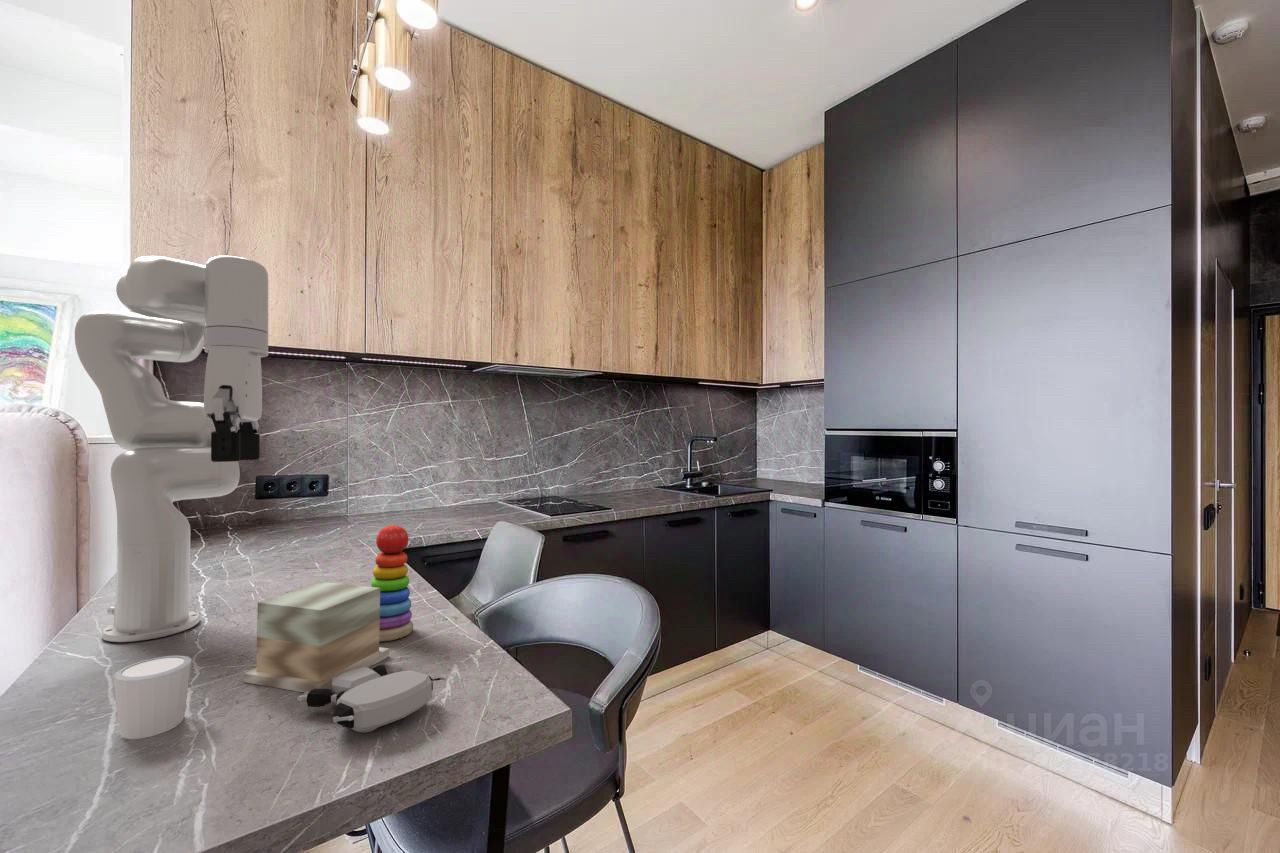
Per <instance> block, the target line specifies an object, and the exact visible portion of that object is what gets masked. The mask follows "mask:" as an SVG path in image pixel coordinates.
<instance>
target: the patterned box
mask: <svg viewBox="0 0 1280 853" xmlns="http://www.w3.org/2000/svg"><path fill="white" fill-rule="evenodd" d="M256 610H257V611H256V612H257V614H256V615H257V616H256V618H257V620H256V622H257V623H256V624H257V626H256V662H255V666H256V667H255V668H252V669H251V670H248V671H246V672H244V673H243V683H247V684H253V685H260V686H265V687H269V688H270V687H271V688H277V689H281V690H282V689H283V690H288V691H294V692H301V693H303V694H304V693H306V692H310V691H311V690H313V689H330V690H332V678H334V677H335V676H337V677H338V676H339V675H340V674H342V673H345V672H347V671H350V670H354V669H357V668H363V667H368V668H371V667H373V666H374V665H376V664H379V662H382V661H384V660H385V659H387V658H389V657H390V648H389V647H388V648H386V647H380V641H379V629H380V588H376V587H372V586H368V585H367V586H366V585H358V584H357V585H355V584H348V583H346V584H345V583H338V582H337V583H335V582H330V581H329V582H326V581H320V582H318V583H314V584H311V585H308V586H305V587H302V588H299V589H295V590H292V591H289V592H286V593H282V594H280V595H277V596H274V597H271V598H268V599H264V600H261V601H258V602H257V609H256ZM372 665H373V666H372Z"/></svg>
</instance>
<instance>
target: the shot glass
mask: <svg viewBox="0 0 1280 853" xmlns="http://www.w3.org/2000/svg"><path fill="white" fill-rule="evenodd" d="M192 660H193V659H192V658H191V657H189V656H187V655H166V656H159V657H152V658H148V659H145V660H142V661H141V660H140V661H138V662H135V663H131V664H130V665H125V667H123V668H121V669H119V670H117V671H116V672H115V674H113V682H114V684H113V685H114V694H115V701H116V710H117V711H116V713H117V714H116V715H117V720H118V721H117V722H118V731H119V736H120V735H121V736H120V737H121V739H124V740H125V739H127V740H138V739H139V740H140V739H144V738H149V737H154V736H157V735H159V734H163V733H166V732H168V731H170V730H171V729H174V728H175V727H177V726H179V725H180V724H181V723H182V722H183V721H184V718H185V712H186V705H187V704H186V703H187V697H188V689H189V683H190V682H189V680H190V675H191V668H192Z"/></svg>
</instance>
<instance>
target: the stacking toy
mask: <svg viewBox="0 0 1280 853" xmlns="http://www.w3.org/2000/svg"><path fill="white" fill-rule="evenodd" d="M375 540H376V541H375V542H376V547H377V548H378V550H379V551H380V552H381V553H379V554H377V555H376V557H375V560H374V562H375V564H376V566H375V567H374V568H373V570H372V575H373V577H374V578H373V579H371V584H370V585H371V586H370V587H376V588H380V629H379V642H390V641H396V640H399V638H400V639H402V638H404V636H405V637H406V635H407V636H408V635H409V634H411V632H412V631H413V629H414V623H413V621H412V616H413V613H412V610H411V608H412V600H411V598H409V597H410V595H411V591H410V588H409V587H408V586H409V584H410V578H409V576H408V575H407V574H408V571H409V569H408V566H407V565H406V563H407V562H408V555H407V554H406V552H403V551H404V550H405V549H406V547H407V545H408V542H409V534H408V532H407V530H406V529H405V528H404V527H403V526H401V525H398V524H397V525H395V524H391V525H386V526H385V527H383V528H382V529H380V530H379V532H378V533H377V536H376V538H375Z"/></svg>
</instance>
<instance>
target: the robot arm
mask: <svg viewBox="0 0 1280 853" xmlns="http://www.w3.org/2000/svg"><path fill="white" fill-rule="evenodd" d="M115 289H116V290H115V291H116V296H117V299H118V300H119V301H120V303H121V304H122V305H123V306H124V307H125V308H127V309H128V310H130V311H131V312H129V311H123V310H120V311H119V310H103V309H102V310H94V311H90V312H87V313H85V314H82V315H81V316H80V317H79V319H78V320H77V322H76V324H75V326H74V344H75V348H76V353H77V356H78V359H79V361H80V364H82V367H83V368H84V371H85V372H86V373H87V375H88V377H90V379H91V380H92V381H93V383H94V385H95V386H96V388H97V389H98V391H99V394H100V395H101V399H102V403H103V407H104V411H105V415H106V418H107V422H108V425H109V426H108V427H109V430H110V433H111V436H112V437H113V440H114V442H115V443H116V444H117V445H118V446H119V447H120V448H121V449H124V450H126V451H124V452H122V453H120V454H119V455H118V456H116V458H115V459H113V461H112V465H111V467H110V479H111V484H112V489H113V496H114V501H115V508H116V530H117V532H116V533H117V534H116V544H117V545H116V576H115V578H116V583H115V584H116V585H115V604H113V606H110V607H109V608H107V611H106V612H107V614H108V615H109V616H110V615H111V616H113V623H112V624H110V625H107V626H106V627H105V628H104V629H103V630H102V632H101V638H102V639H103V640H104V641H107V642H110V643H112V642H113V643H130V642H140V641H146V640H154V639H158V638H159V639H160V638H163V637H164V638H165V637H167V636H170V635H175V634H178V633H181V632H184V631H187V630H189V629H191V628H193V627H195V626H197V625H198V623H200V618H201V617H200V616H201V614H200V613H198V612H195V611H192V610H191V611H190V579H191V578H190V577H191V576H190V575H191V574H190V569H191V568H190V567H191V566H190V565H191V524H190V522H189V519H188V518H187V517H186V515H184V514H183V512H181V511H180V510H179V509H178V508H177V507H176V506H175V505H174V504H173V503H174V502H176V501H183V500H184V501H185V500H194V499H195V500H197V499H208V498H218V497H222V496H223V497H224V496H226V495H229V494H232V493H233V491H235V489H237V488H238V485H239V483H240V477H241V472H240V466H239V461H253V460H254V461H255V460H257V461H258V460H259V459H260V453H261V452H260V450H261V449H260V446H261V445H260V444H261V438H260V435H261V434H260V425H259V424H260V422H259V421H260V419H261V418H262V415H263V414H262V413H263V377H262V376H263V375H262V372H263V369H262V361H261V358H266V357H268V356H269V273H268V270H267V269H266V267H265V266H264V265H262V264H261V263H260V262H257V261H254V260H253V259H250V258H245V257H241V256H233V255H217V256H214V257H210V258H209V259H208V260H207V261H206V264H205V265H203V264H199V263H194V262H191V261H186V260H180V259H176V258H171V257H167V256H159V255H148V256H147V255H146V256H139V257H137V258H135V259H134V260H133V261H132V262H131V263H130V265H129V267H128V268H127V272H126V273H125V274H124V275H123V276H122V277H120V278H119V279H118V281H117V283H116V287H115ZM203 349H204V353H207V354H208V355H207V358H206V366H205V374H204V388H203V389H204V390H203V402H198V401H182V400H181V401H178V400H171V399H169V398H168V397H166V395H165V393H164V389H163V386H162V384H161V382H160V380H159V379H158V378H157V377H156V376H155V375H153V374H152V373H151V372H150V371H149V370H148V369H147V368H145V367H144V366H142V365H141V364H139V363H137V362H136V361H134V359H138V360H150V361H159V362H171V363H189V362H192V361H194V360H196V359H197V357H199V356H200V355H201V353H202V351H203Z"/></svg>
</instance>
